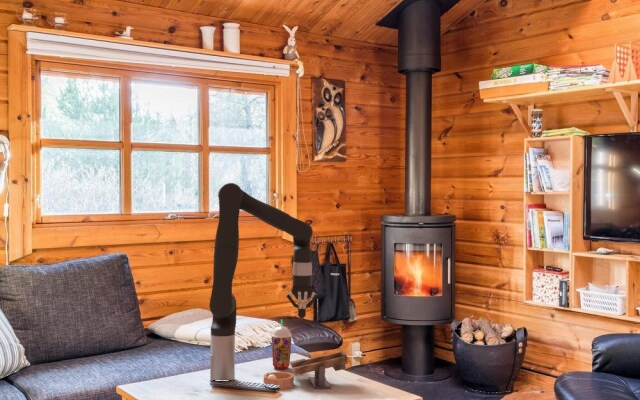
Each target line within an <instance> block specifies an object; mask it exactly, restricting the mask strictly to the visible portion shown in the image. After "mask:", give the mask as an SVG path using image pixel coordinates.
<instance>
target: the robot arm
mask: <svg viewBox="0 0 640 400" xmlns="http://www.w3.org/2000/svg"><path fill="white" fill-rule="evenodd" d="M217 198H218V211H219V212H218V214H219V215H218V224H217V229H216V233H215V238H214V239H215V240H214V248H213V249H214V250H213V267H212V269H213V274H212V275H213V276H212V277H213V279H212V280H213V281H212V288H211V293H210V298H209V311H210V312H211V314H212V322H211V326H210V358H209V359H210V366H209V367H210V376H209V377H210V378H209V380H210V382H214V381H213V380H231V381H233V380H235V375H236V372H235V371H236V370H235V367H236V365H235V364H236V363H235V361H236V359H235V358H236V356H235V355H236V352H235V350H236V327H237V305H238V304H237V300H236V297H235V296H234V294H233V280H234V276H235V272H236V268H237V264H238V261H239V260H238V259H239V251H240V250H239V249H240V230H239V228H240V227H239V218H240V217H239V216H240V210H241V211H243V212H245V213H248V214H250V215H252V216H253V217H255V218H257V219H259V220H260V221H262V222H263V223H265V224H267V225H269V226H271V227H273V228H275V229H276V230H280V231H282V232H284V233H286V234H288V235H290V236H292V240H293V241H292V243H293V261H292V262H293V263H292V286H291V289H290V291H289V293H287V294H285V296H286V298H287V299H288V301H290V303H291V305H292V306H293V307H294V308H295V309H296V308H297V316H298V318H299V319H301V320H302V319H304V318H305V317H306V316H307V315H306V313H307V312H306V310H307V309H308V308H311V306H312V305H313V304H314V303H315V301H316V300H317V299H318V298H319V295H318V293H316V292H314V289H313V287H312V285H313V265H312V264H313V263H312V248H311V238H312V236H313V233H314V232H313V228H312V226H311V225H310V224H309V223H307V222H305V221H303V220H300V219H298V218H297V217H293V216H292V215H290V214H289V213H287V212H285V211H283V210H281V209H280V208H277V207H275V206H273V205H270V204H268V203H266V202H264V201H261V200H259V199H257V198H255V197H253V196H252V195H250V194H248V193H247V192H245V191H244V190H243V189H241V187H240V185H238V184H236V183H234V182H227V183H224V184H222V185H221V186H220V187H219V189H218V192H217ZM293 297H294V298H295V300H296V301H297V303H296V302H295V301H294V299H293ZM310 297H311V298H310ZM309 298H310V299H309ZM308 300H309V301H308Z"/></svg>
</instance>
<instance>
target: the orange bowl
mask: <svg viewBox="0 0 640 400" xmlns="http://www.w3.org/2000/svg"><path fill="white" fill-rule="evenodd" d="M271 374H273V375H275V376H276V378H277V379H272V378H268V376H269V375H271ZM294 379H295V376H294V374H293V373H290V372H285V371H272V372H268V373H264V374H263V381H262V382H263V383H265V384H274V385H280V389H279V390H284V389H289V388H292V387H293V386H294V384H295V383H294ZM263 383H262V384H263Z"/></svg>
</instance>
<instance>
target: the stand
mask: <svg viewBox="0 0 640 400" xmlns="http://www.w3.org/2000/svg"><path fill="white" fill-rule="evenodd" d="M308 380H309V382H310V384H311V386H312V387H313V389H314V390H322V389H323V390H326V389H327V390H328V389H329V390H330V389H331V385H330V383H329V382H328V380H327V378H326V369H325V366H319V370H317V371H314V376H309V377H308Z"/></svg>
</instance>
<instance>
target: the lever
mask: <svg viewBox="0 0 640 400" xmlns="http://www.w3.org/2000/svg"><path fill="white" fill-rule="evenodd" d="M348 364H349V361H348V357H347V353H346V352H345V351H344V350H343V349H340V350H339V351H338V352H333V353H329V354H324V355H320V356H315V357H311V358H302V359H297V360H292V361H291V360H290V366H291V369H292V371H293V373H294V375H295V376H298V375H303V374H307V373H311V372H312V373H313V372H315V371H317V370H319V366H325V370H326V369H329V368H330V369H331V368H332V369H333V370H334V371H335V372H337V371H341V370H346V368H347V367H346V365H348Z"/></svg>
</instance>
